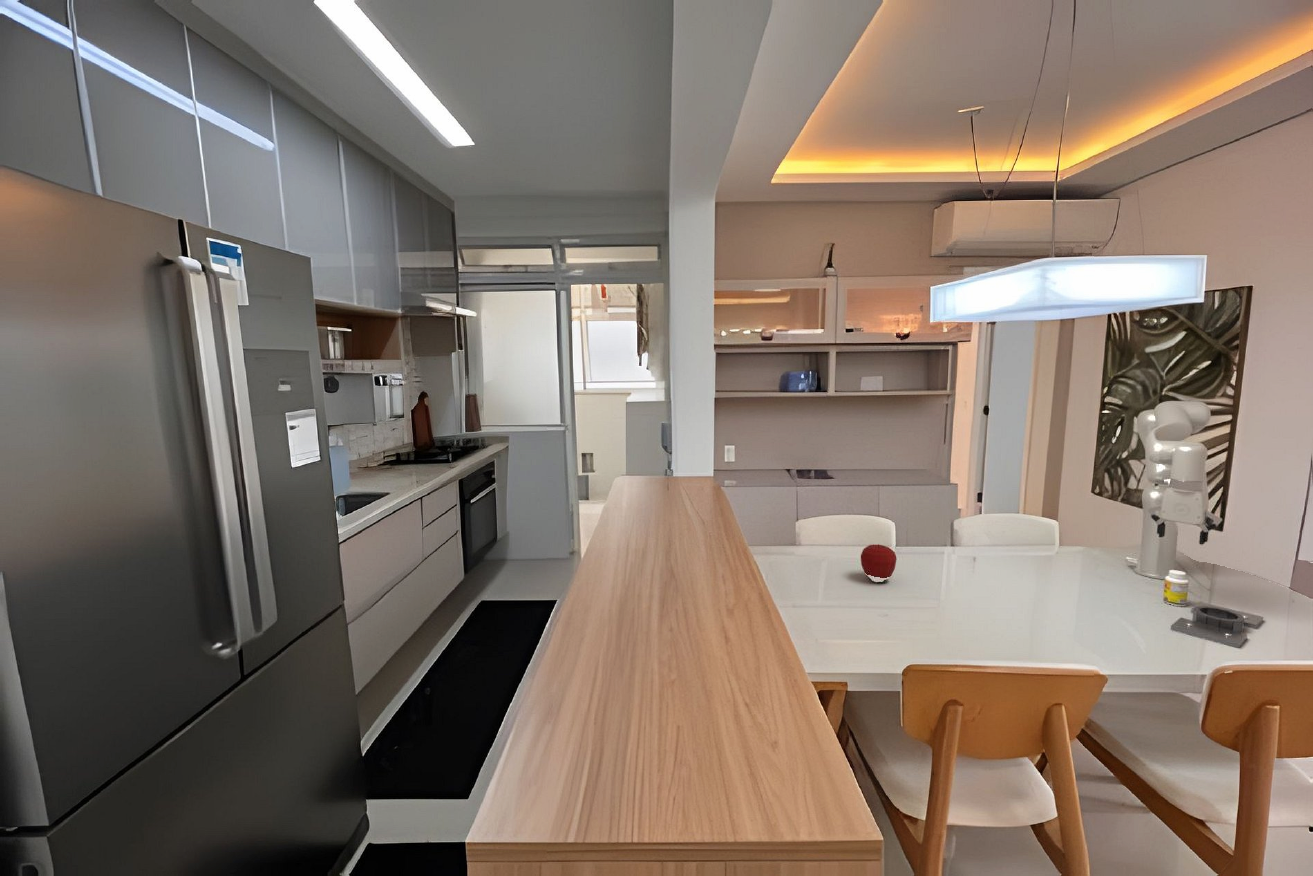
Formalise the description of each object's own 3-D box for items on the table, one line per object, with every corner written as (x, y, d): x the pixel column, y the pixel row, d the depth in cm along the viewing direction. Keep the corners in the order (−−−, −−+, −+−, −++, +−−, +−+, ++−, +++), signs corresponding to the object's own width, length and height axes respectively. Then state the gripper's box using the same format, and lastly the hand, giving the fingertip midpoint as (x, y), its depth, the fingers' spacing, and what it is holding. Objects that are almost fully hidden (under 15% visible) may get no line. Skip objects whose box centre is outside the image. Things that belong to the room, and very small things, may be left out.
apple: (901, 586, 204) (902, 548, 203) (866, 587, 205) (867, 549, 203) (888, 574, 216) (889, 538, 215) (855, 574, 217) (856, 538, 215)
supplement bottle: (1164, 598, 191) (1167, 567, 190) (1187, 603, 187) (1190, 571, 186) (1161, 603, 187) (1164, 572, 186) (1185, 608, 183) (1188, 576, 182)
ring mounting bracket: (1238, 648, 158) (1239, 635, 157) (1170, 629, 169) (1171, 617, 169) (1262, 620, 174) (1264, 609, 173) (1199, 605, 185) (1200, 594, 185)
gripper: (1146, 482, 187) (1142, 536, 189) (1221, 491, 173) (1215, 549, 175) (1154, 479, 192) (1150, 532, 194) (1228, 488, 178) (1222, 544, 180)
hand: (1181, 540), depth 184 cm, fingers open, 9 cm apart
